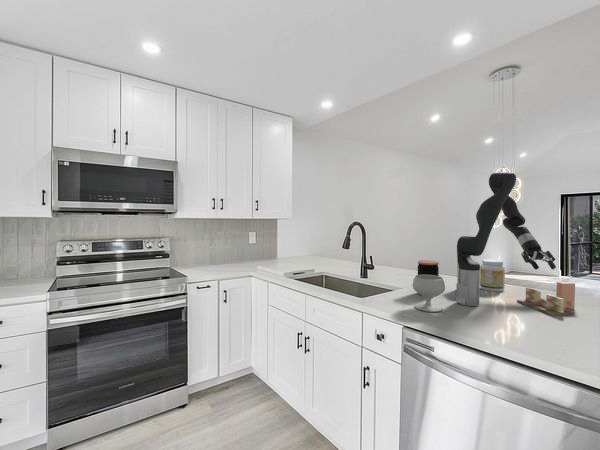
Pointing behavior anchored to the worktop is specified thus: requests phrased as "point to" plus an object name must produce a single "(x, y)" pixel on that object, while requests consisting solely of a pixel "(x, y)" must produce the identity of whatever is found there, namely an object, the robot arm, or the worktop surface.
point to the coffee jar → (428, 267)
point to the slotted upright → (566, 293)
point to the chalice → (428, 290)
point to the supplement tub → (492, 275)
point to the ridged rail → (544, 303)
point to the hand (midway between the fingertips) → (545, 268)
